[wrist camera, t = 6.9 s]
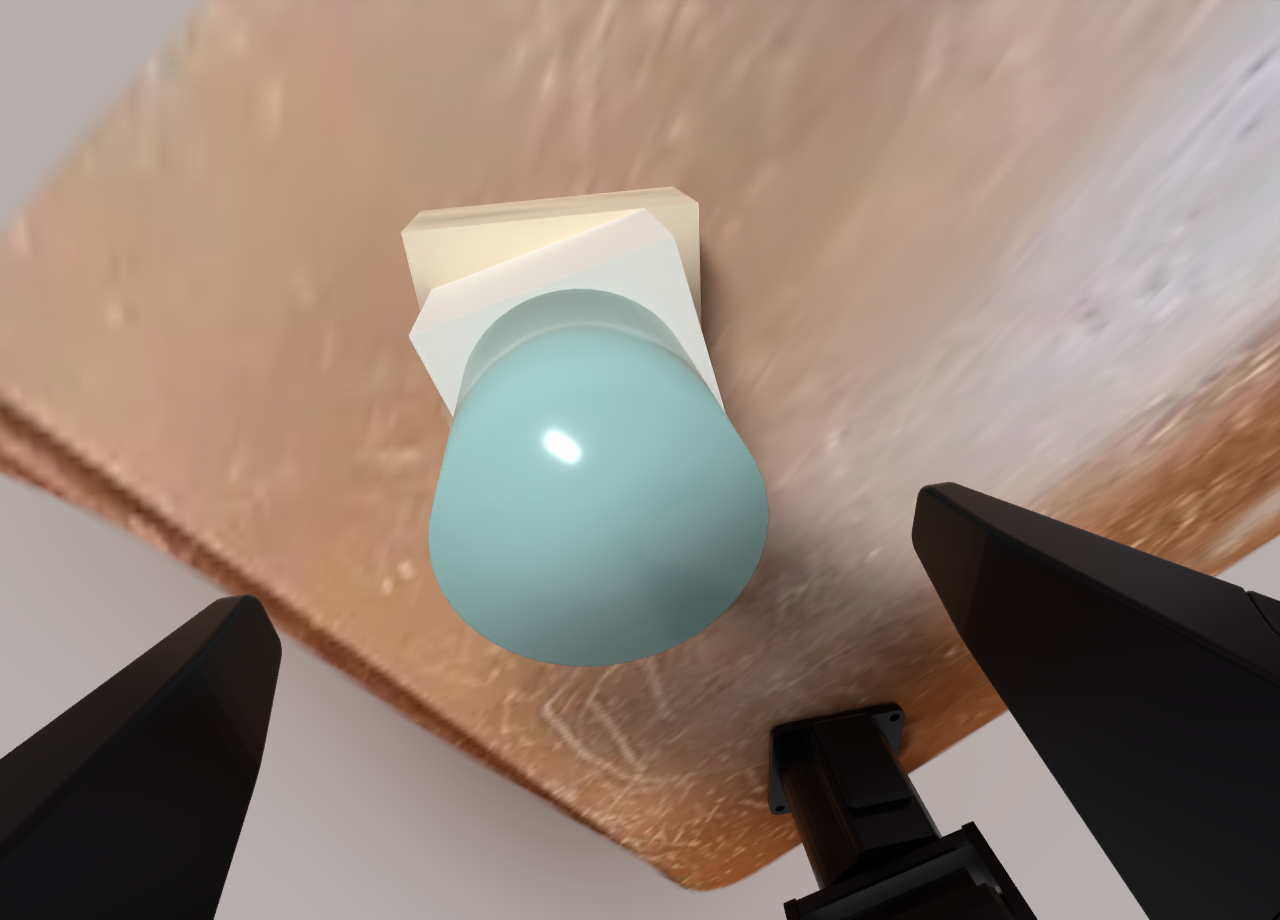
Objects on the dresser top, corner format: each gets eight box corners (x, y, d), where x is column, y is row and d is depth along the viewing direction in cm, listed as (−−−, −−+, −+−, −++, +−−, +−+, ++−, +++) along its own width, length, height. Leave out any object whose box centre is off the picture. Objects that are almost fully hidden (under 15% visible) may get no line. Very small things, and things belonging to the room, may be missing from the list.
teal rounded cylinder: (704, 480, 15) (774, 629, 11) (494, 523, 15) (480, 694, 11) (682, 267, 13) (761, 353, 8) (429, 313, 12) (377, 426, 8)
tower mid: (705, 403, 18) (740, 464, 15) (523, 470, 18) (522, 544, 15) (645, 208, 15) (673, 235, 12) (431, 289, 16) (408, 335, 13)
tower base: (680, 406, 22) (704, 454, 19) (472, 433, 21) (463, 488, 18) (670, 185, 19) (698, 202, 16) (422, 209, 18) (401, 232, 15)
